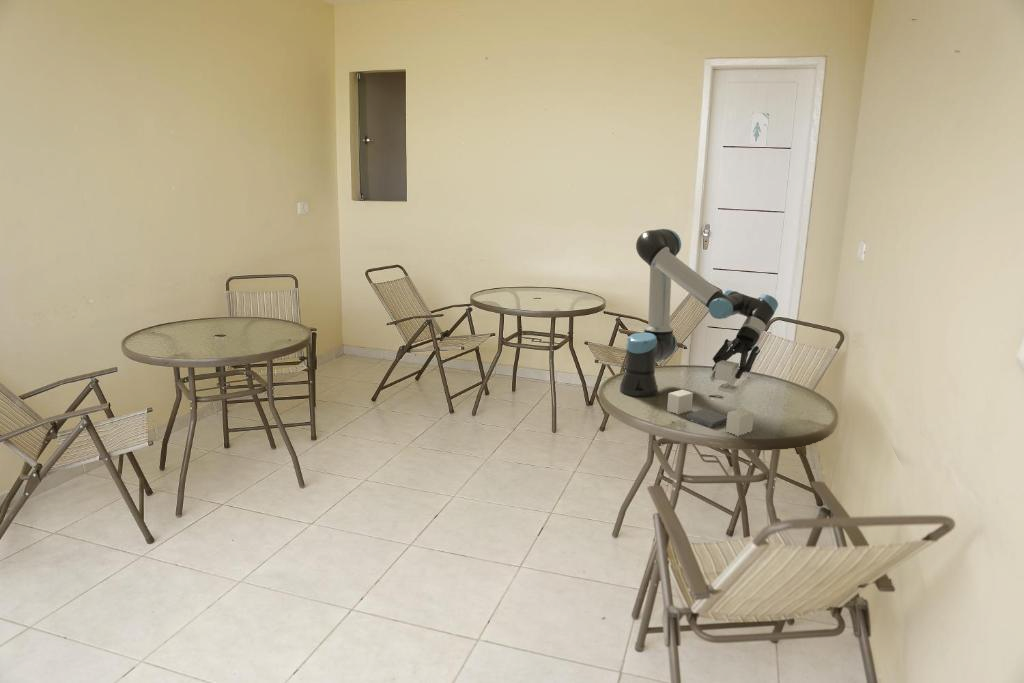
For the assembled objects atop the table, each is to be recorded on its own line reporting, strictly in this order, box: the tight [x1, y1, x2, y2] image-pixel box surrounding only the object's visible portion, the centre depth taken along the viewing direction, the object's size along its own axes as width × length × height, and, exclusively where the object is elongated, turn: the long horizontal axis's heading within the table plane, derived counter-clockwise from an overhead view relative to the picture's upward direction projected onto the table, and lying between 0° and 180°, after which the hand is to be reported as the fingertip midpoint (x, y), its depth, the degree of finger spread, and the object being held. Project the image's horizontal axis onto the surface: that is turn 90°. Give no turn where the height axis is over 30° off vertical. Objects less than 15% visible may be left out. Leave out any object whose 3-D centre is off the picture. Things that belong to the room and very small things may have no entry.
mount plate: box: [686, 408, 727, 429], centre depth 248 cm, size 11×10×2 cm
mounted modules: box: [666, 389, 755, 436], centre depth 247 cm, size 31×8×7 cm, turn 37°
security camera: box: [714, 360, 740, 394], centre depth 248 cm, size 6×7×10 cm
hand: (720, 381), depth 247 cm, fingers closed on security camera, 7 cm apart
